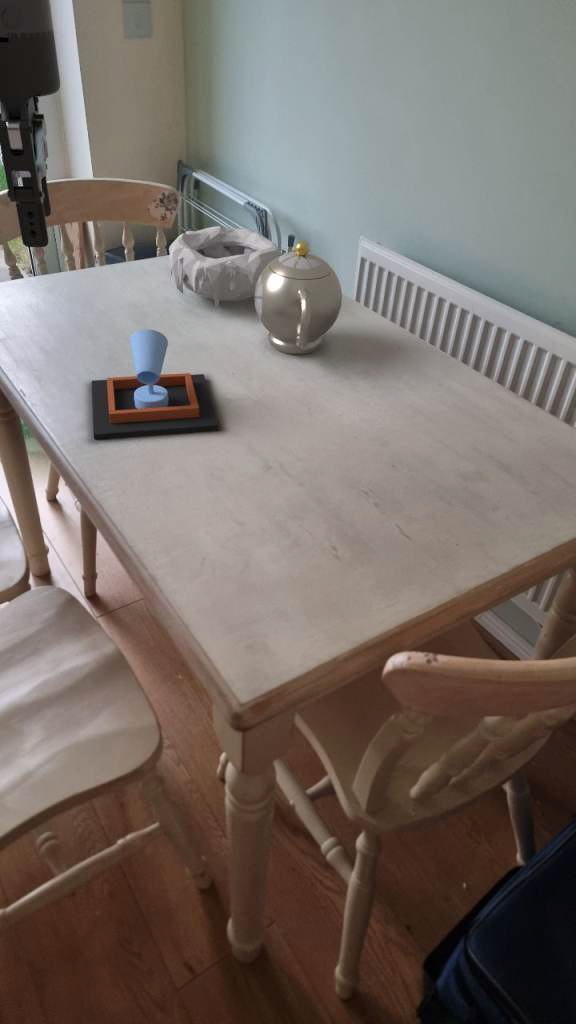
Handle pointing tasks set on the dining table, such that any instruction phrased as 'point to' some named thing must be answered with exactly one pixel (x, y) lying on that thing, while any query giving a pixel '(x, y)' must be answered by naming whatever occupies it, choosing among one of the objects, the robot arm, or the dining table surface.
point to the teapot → (298, 300)
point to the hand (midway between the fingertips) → (38, 230)
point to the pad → (125, 420)
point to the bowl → (220, 262)
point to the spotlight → (149, 368)
